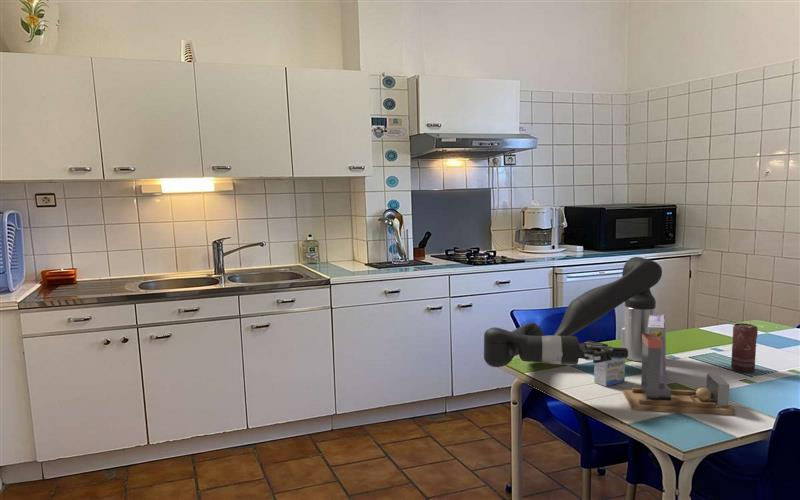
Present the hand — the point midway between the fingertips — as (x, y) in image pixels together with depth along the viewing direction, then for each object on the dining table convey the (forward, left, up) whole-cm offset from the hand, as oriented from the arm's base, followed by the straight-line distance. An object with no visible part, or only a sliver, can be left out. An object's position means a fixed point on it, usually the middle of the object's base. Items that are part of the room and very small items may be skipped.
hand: (627, 352), depth 145 cm
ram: (+5, +6, -12) cm, 14 cm away
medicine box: (-12, +9, -14) cm, 20 cm away
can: (+6, +50, -14) cm, 53 cm away
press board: (+8, +9, -13) cm, 18 cm away
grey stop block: (+15, +16, -12) cm, 25 cm away
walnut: (+13, +14, -12) cm, 23 cm away
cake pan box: (-6, +23, -14) cm, 28 cm away
